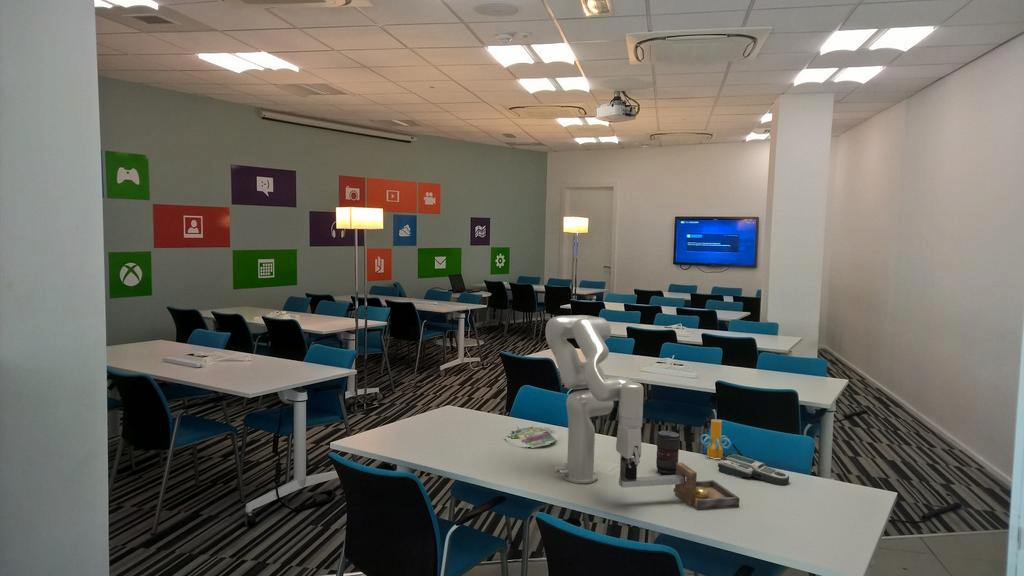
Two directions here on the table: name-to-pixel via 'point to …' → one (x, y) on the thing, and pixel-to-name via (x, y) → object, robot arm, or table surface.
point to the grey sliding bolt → (647, 478)
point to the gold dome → (701, 492)
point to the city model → (535, 436)
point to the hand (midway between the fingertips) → (628, 475)
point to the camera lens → (667, 452)
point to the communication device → (750, 469)
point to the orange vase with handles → (715, 440)
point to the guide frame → (716, 492)
